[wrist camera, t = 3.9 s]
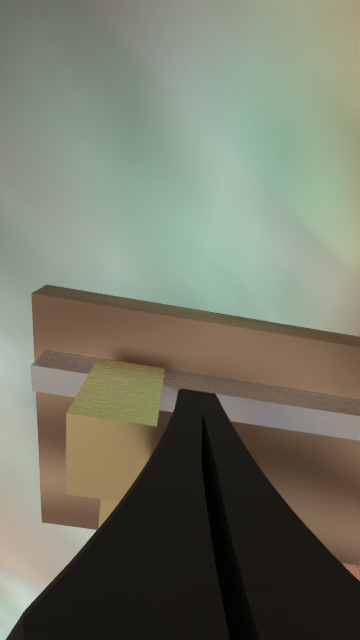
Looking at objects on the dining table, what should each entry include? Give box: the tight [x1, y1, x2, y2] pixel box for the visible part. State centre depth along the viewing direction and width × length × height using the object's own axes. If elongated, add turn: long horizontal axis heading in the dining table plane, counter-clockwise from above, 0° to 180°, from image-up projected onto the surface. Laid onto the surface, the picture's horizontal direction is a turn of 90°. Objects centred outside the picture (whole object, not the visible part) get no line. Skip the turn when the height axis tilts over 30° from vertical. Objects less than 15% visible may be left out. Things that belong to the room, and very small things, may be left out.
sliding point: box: [66, 358, 165, 528], centre depth 11 cm, size 9×2×4 cm, turn 171°
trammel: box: [31, 350, 360, 441], centre depth 11 cm, size 9×21×4 cm, turn 81°
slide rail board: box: [32, 285, 360, 565], centre depth 14 cm, size 14×22×1 cm, turn 81°
